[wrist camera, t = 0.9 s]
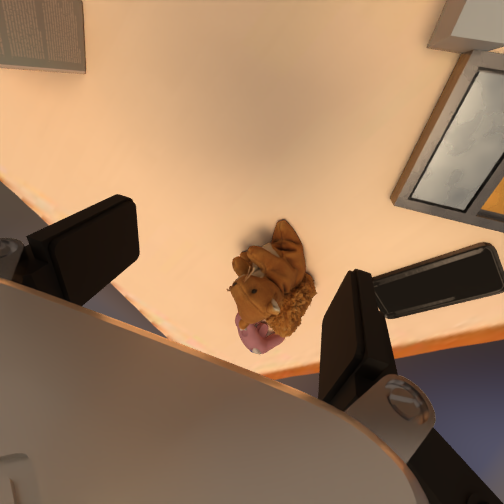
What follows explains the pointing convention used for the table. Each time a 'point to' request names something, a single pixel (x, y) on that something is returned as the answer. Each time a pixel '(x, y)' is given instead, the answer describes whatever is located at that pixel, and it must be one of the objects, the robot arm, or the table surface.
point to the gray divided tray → (461, 148)
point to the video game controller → (258, 337)
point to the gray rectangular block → (469, 26)
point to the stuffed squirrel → (273, 283)
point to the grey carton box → (42, 35)
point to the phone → (440, 281)
